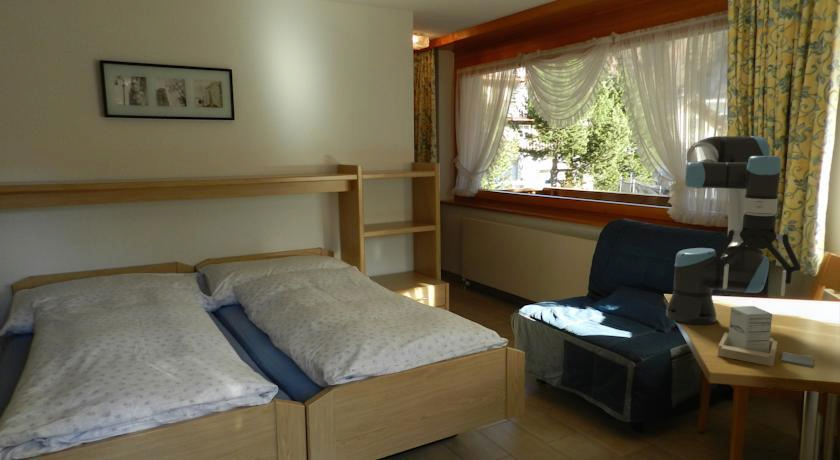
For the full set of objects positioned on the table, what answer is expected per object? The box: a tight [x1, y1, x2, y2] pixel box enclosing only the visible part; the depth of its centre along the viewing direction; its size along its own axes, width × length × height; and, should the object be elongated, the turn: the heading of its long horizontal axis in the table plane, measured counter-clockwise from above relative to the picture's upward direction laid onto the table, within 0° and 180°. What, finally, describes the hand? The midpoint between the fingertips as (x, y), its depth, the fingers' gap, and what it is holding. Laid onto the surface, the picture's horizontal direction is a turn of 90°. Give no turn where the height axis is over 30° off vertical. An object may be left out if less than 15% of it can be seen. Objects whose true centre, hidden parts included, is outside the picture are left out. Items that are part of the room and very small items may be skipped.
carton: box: [717, 331, 778, 367], centre depth 157 cm, size 13×17×3 cm
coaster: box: [780, 351, 814, 368], centre depth 152 cm, size 7×7×1 cm
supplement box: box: [727, 305, 773, 353], centre depth 156 cm, size 7×7×13 cm
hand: (752, 291), depth 154 cm, fingers open, 13 cm apart
